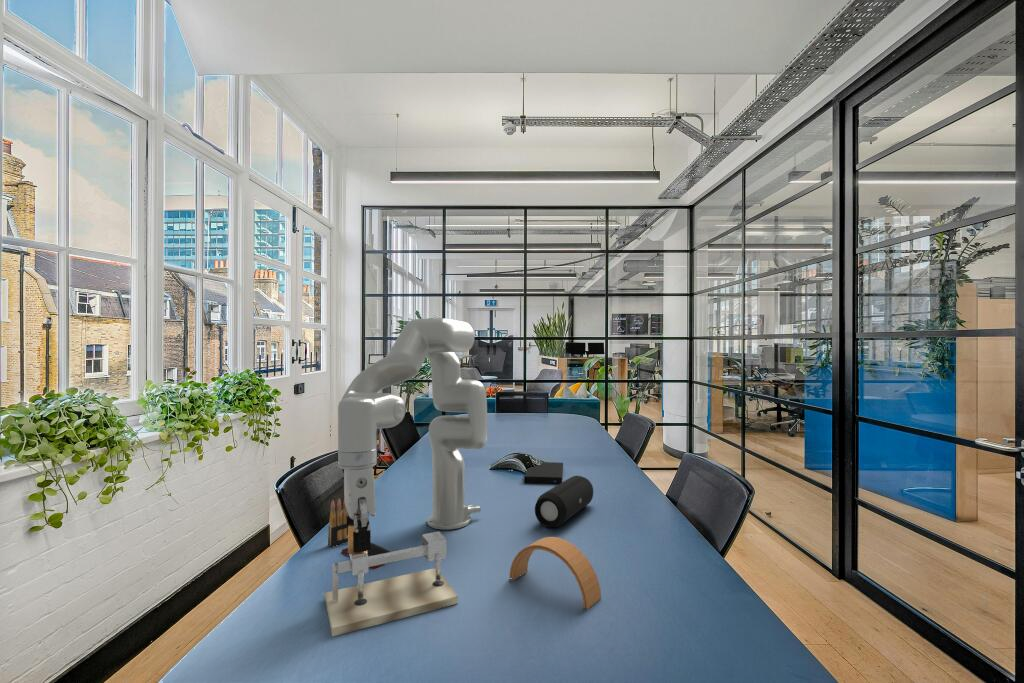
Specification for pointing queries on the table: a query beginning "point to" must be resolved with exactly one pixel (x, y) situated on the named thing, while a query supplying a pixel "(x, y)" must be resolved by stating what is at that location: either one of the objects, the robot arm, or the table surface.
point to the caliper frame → (399, 558)
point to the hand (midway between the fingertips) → (358, 542)
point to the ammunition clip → (337, 525)
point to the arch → (570, 558)
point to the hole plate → (388, 601)
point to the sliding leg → (357, 562)
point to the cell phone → (371, 552)
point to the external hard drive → (544, 474)
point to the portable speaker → (563, 501)
